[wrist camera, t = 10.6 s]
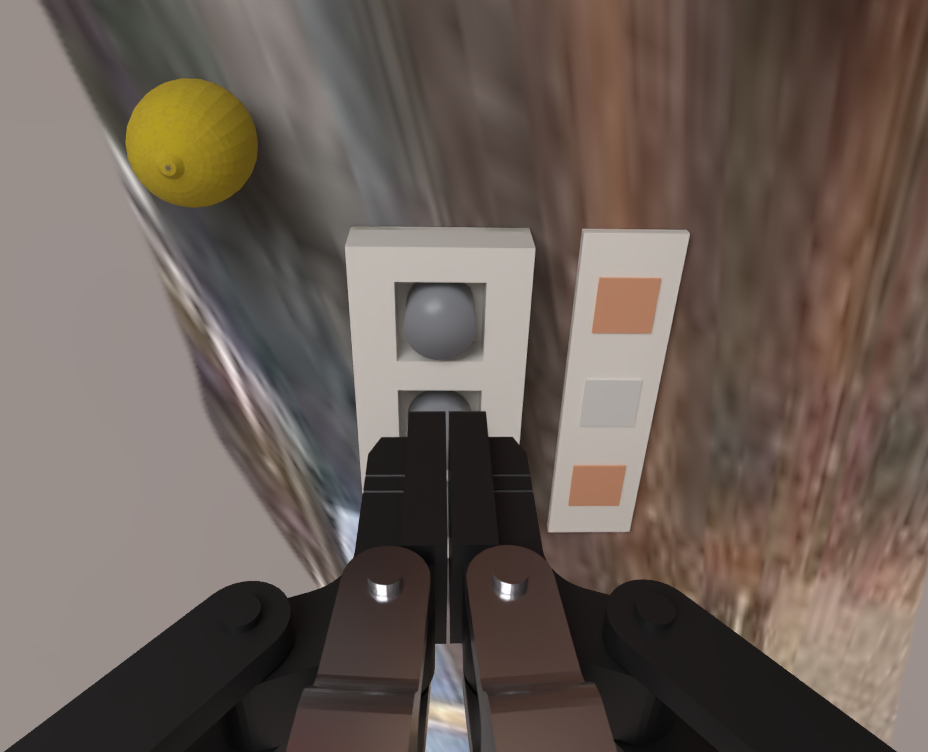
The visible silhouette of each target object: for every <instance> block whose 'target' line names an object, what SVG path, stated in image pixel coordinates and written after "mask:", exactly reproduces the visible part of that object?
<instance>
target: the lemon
mask: <svg viewBox="0 0 928 752" xmlns="http://www.w3.org/2000/svg"><path fill="white" fill-rule="evenodd" d="M126 149H127V155H128V159H129V162H130V164H131V167H132V169H133V171H134V173H135V174H136V176H137V177H138V179H139V180H140V182H141V183H142V184H143V185H144V186H145V187H146V188H147V189H148V190H149V191H150V192H151V193H153V194H154V195H156V196H157V197H159V198H161V199H162V200H164V201H167V202H169V203H172V204H175V205H178V206H184V207H191V208H194V207H204V206H211V205H213V204H216V203H219V202H221V201H224V200H226V199H228V198H229V197H231V196H232V195H233V194H235V193H236V192H237V191H239V190H240V189H241V188H242V187H243V185H244V184H245V183H246V181H247V180H248V178H249V177H250V176H251V174H252V171H253V169H254V166H255V163H256V160H257V152H258V139H257V133H256V128H255V125H254V123H253V121H252V118H251V116H250V114H249V112H248V111H247V110H246V108H245V107H244V105H243V104H242V103H241V101H240V100H238V99H237V98H236V97H235V96H234V95H233V94H232V93H231V92H230V91H228V90H226V89H224V88H223V87H221V86H219V85H217V84H215V83H212V82H208V81H205V80H202V79H186V78H181V79H177V80H173V81H169V82H165V83H163V84H161V85H159V86H158V87H156V88H154V89H153V90H151V91H150V92H148V93H147V94H146V95H145V96H144V98H143V99H142V100H141V101H140V102H139V103H138V104H137V106H136V107H135V109H134V111H133V113H132V115H131V118H130V120H129V123H128V125H127V133H126Z"/></svg>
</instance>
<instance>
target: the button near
mask: <svg viewBox="0 0 928 752" xmlns="http://www.w3.org/2000/svg"><path fill="white" fill-rule="evenodd" d="M404 333H405V337H406V340H407V342H408V343H409V345H410V346H411V347H412V349H414V350H415V351H416V352H417V353H418V354H420V355H422V356H424V357H426V358H430V359H434V360H446V359H451V358H454V357H457V356H459V355H460V354H462V353H463V352H465V351H466V350H467V349H468V348H469V347H470V346H471V344H472V343H473V341H474V338H475V335H476V316H475V306H474V298H473V294H472V292H471V290H470V288H469V287H468V286H467V284H466V283H461V282H415V284H414V285H413V286H412V287H411V289H410V290H409V292H408V295H407V299H406V309H405V320H404Z"/></svg>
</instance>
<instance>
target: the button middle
mask: <svg viewBox="0 0 928 752" xmlns="http://www.w3.org/2000/svg"><path fill="white" fill-rule="evenodd" d="M409 411H446V464H447V470H448V431H449V411H471V407H470V405H469V403H468V401H467V400H466V399H465V398H464V397H463V396H462V395H460V394H459V393H457V392H455V391H453V390H427V391H424V392H422V393H420V394H419V395H418V396H416V397H415V398H414V399H413V401H412V402H411V404H410V406H409V408H408V415H409ZM408 415H407V431H408ZM407 431H406V437H407Z"/></svg>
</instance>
